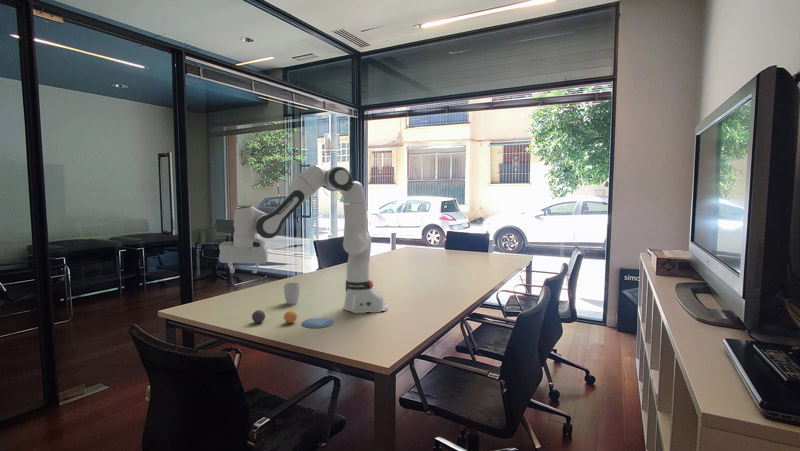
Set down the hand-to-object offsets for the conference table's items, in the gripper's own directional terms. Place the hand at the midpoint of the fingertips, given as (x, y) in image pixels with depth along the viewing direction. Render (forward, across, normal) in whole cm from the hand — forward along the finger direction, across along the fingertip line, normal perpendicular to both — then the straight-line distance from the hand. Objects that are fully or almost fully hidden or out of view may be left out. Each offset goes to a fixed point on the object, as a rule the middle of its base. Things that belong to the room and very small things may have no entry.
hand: (243, 272), depth 176 cm
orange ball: (+18, +22, -7) cm, 29 cm away
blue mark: (+20, +34, -9) cm, 40 cm away
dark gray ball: (+18, +8, -5) cm, 21 cm away
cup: (+21, +19, +26) cm, 38 cm away
